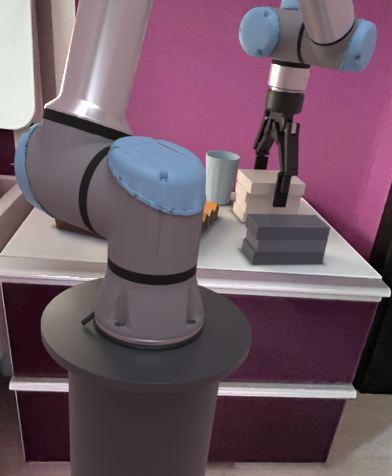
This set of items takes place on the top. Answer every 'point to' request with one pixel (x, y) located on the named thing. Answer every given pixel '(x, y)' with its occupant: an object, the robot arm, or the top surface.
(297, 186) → the white book
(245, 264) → the top surface
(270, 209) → the white books
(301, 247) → the grey books
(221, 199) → the cup
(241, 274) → the top surface
